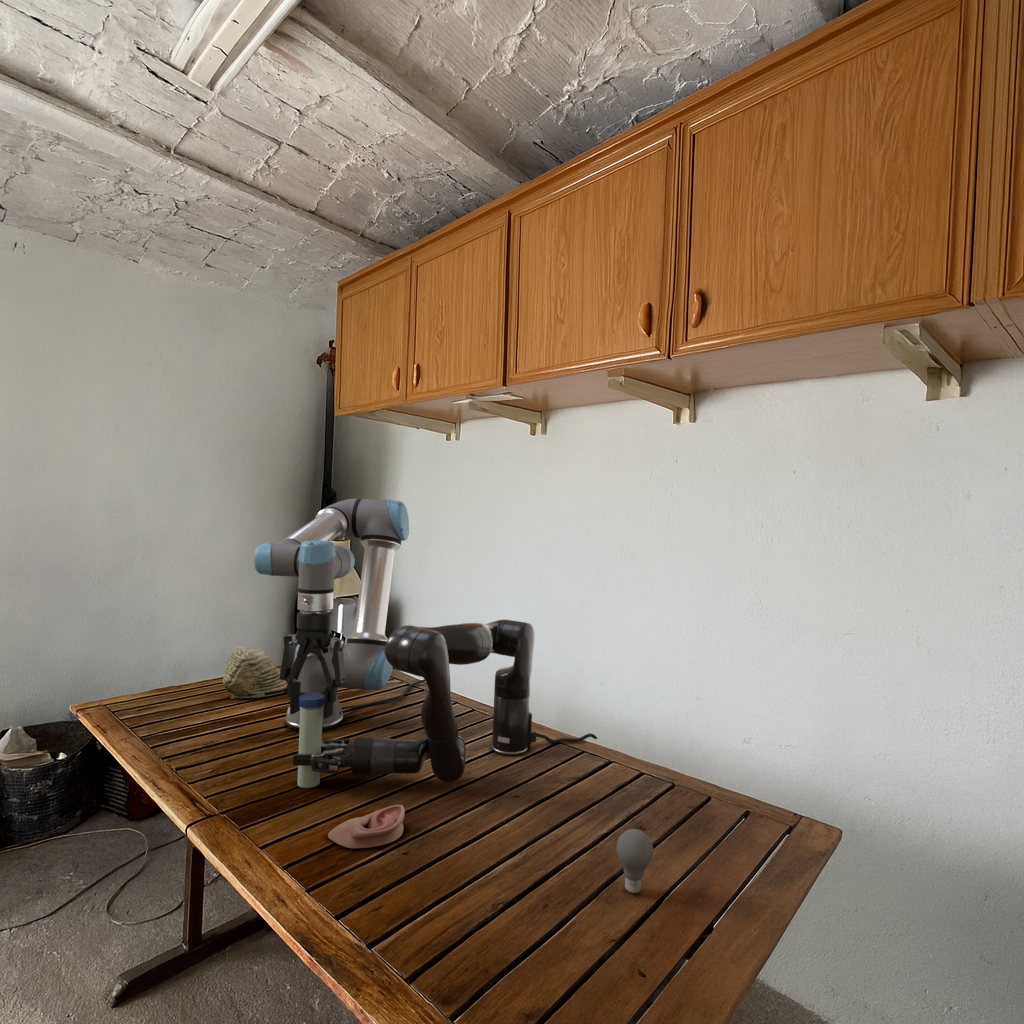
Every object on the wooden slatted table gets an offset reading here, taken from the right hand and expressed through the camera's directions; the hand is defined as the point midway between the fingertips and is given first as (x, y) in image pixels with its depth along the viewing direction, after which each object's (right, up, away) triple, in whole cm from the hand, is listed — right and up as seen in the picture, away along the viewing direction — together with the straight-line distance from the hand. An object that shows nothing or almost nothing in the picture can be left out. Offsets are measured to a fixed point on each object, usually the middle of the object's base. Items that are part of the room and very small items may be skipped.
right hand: (297, 754), depth 139 cm
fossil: (-33, -4, +59) cm, 68 cm away
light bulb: (+67, -10, -34) cm, 76 cm away
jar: (+2, -6, 0) cm, 7 cm away
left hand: (+3, +9, 0) cm, 9 cm away
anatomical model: (+20, -8, -20) cm, 29 cm away
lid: (+3, +13, 0) cm, 13 cm away
